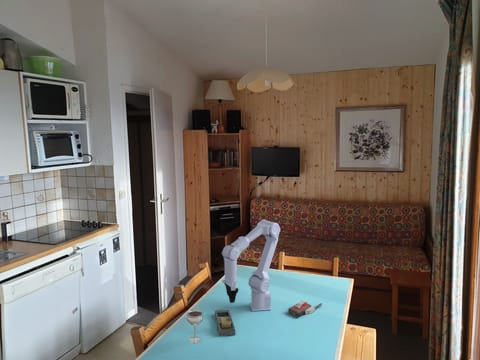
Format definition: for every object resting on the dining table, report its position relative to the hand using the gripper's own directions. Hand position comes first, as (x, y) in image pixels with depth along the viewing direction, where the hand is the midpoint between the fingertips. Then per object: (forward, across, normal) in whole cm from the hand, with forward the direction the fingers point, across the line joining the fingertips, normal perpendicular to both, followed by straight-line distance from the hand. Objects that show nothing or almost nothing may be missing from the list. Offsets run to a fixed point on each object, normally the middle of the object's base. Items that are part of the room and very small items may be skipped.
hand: (230, 298), depth 178 cm
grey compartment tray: (+9, +6, -4) cm, 12 cm away
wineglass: (+9, +17, -18) cm, 26 cm away
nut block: (+9, +11, -4) cm, 15 cm away
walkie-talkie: (+10, -1, +38) cm, 39 cm away
